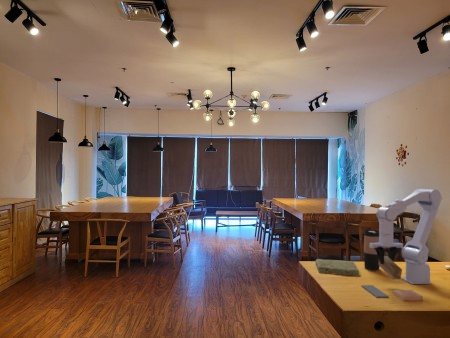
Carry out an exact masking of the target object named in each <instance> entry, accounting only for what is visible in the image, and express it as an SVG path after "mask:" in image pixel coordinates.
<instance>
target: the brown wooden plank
mask: <svg viewBox="0 0 450 338" xmlns="http://www.w3.org/2000/svg"><path fill="white" fill-rule="evenodd" d="M378 265H379V266H380V267H379V268H381V269H382V270H383V271H384V272H385V273H386V274H387V275H388V277H390V278H391V279H392V280H401V279H402V272H403V269H402V268H401V267H400V266H399V265H398V264H397V263H396V262H395V261H392V260H391V259H390V258H389V257H388V255H384V264H380V261H379V264H378Z"/></svg>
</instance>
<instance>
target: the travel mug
mask: <svg viewBox="0 0 450 338" xmlns="http://www.w3.org/2000/svg"><path fill="white" fill-rule="evenodd" d="M363 234H364V235H363V258H364V259H363V263H364V264H363V265H364V269H365V270H367V271H371V272H377V271H380V268H381V267H380V266H379V265H378V264H379V257H378V255H377V252H376V250H375V248H370V243H377V242H379V230H376V229H365V230H363Z"/></svg>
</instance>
